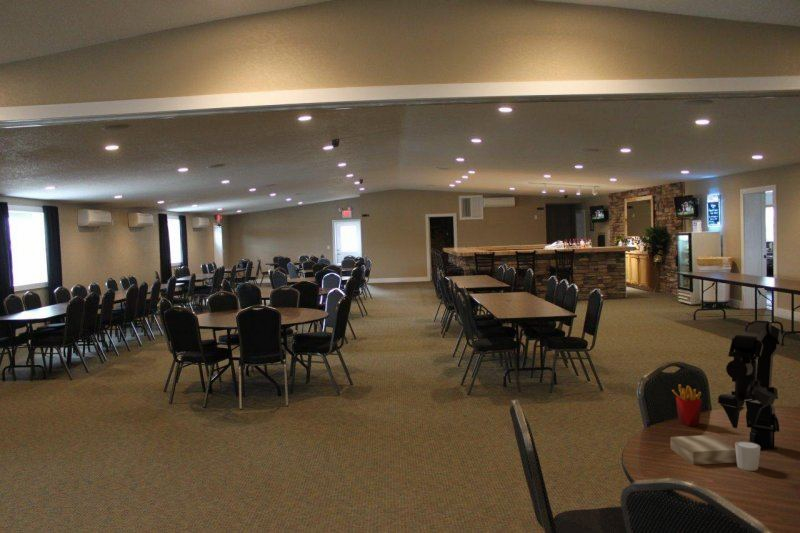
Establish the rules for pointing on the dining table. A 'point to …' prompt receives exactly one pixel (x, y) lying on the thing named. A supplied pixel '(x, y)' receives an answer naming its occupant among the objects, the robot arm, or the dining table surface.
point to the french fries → (688, 406)
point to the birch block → (703, 449)
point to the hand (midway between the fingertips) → (744, 426)
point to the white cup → (747, 455)
